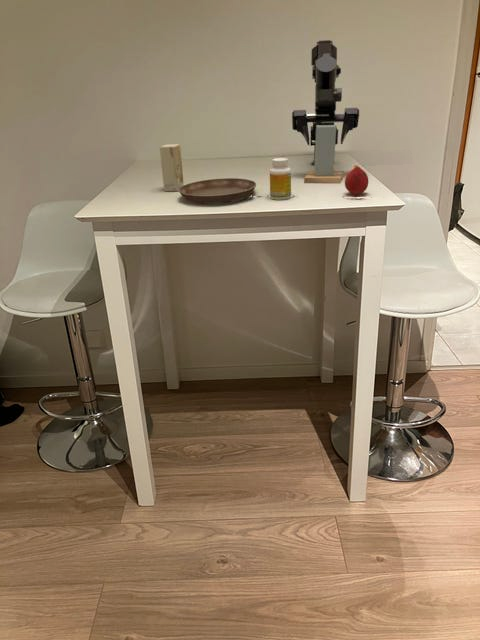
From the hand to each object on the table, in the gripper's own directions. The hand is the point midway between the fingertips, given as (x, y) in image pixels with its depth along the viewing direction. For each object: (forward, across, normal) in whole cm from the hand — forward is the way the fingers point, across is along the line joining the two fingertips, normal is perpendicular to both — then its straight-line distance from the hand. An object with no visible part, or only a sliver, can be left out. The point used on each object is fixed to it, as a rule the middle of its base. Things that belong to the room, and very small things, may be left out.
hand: (325, 143), depth 147 cm
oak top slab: (+8, 0, +6) cm, 10 cm away
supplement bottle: (+22, -12, -7) cm, 25 cm away
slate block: (+7, 0, +5) cm, 8 cm away
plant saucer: (+20, -28, -5) cm, 35 cm away
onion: (+22, +8, -7) cm, 24 cm away
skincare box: (+12, -43, +3) cm, 45 cm away
